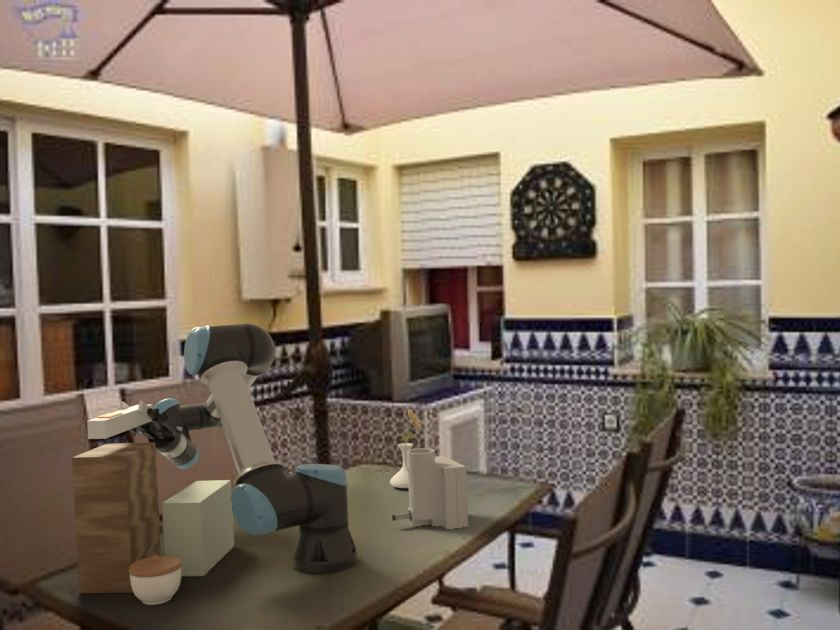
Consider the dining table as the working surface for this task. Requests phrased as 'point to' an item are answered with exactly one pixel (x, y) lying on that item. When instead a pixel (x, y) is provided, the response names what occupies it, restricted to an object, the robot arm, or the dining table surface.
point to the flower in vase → (405, 454)
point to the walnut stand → (115, 514)
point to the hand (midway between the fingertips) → (130, 406)
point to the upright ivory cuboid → (199, 525)
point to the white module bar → (115, 422)
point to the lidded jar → (155, 578)
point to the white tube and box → (435, 491)
